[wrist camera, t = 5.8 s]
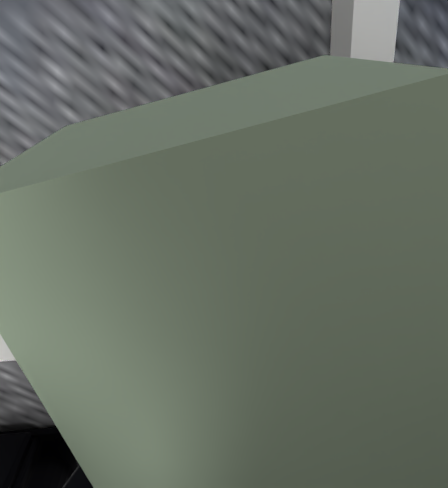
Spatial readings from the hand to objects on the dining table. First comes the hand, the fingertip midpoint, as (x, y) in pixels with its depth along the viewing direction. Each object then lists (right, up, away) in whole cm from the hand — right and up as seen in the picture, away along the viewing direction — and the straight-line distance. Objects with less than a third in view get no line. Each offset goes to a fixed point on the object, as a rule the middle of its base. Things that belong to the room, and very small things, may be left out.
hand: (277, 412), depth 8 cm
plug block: (0, +1, +2) cm, 2 cm away
